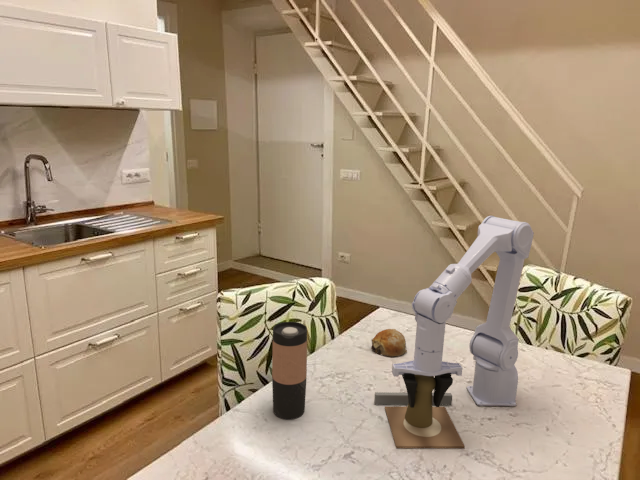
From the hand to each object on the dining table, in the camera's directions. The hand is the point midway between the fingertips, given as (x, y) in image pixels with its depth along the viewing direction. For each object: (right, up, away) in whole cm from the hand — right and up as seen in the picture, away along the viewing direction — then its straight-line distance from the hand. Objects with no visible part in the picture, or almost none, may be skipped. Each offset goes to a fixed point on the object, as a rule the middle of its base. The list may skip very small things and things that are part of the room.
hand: (423, 404), depth 101 cm
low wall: (0, -3, +10) cm, 11 cm away
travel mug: (-29, -4, +6) cm, 30 cm away
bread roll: (-2, +3, +37) cm, 37 cm away
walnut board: (0, -5, +1) cm, 5 cm away
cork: (-1, -4, +3) cm, 5 cm away
